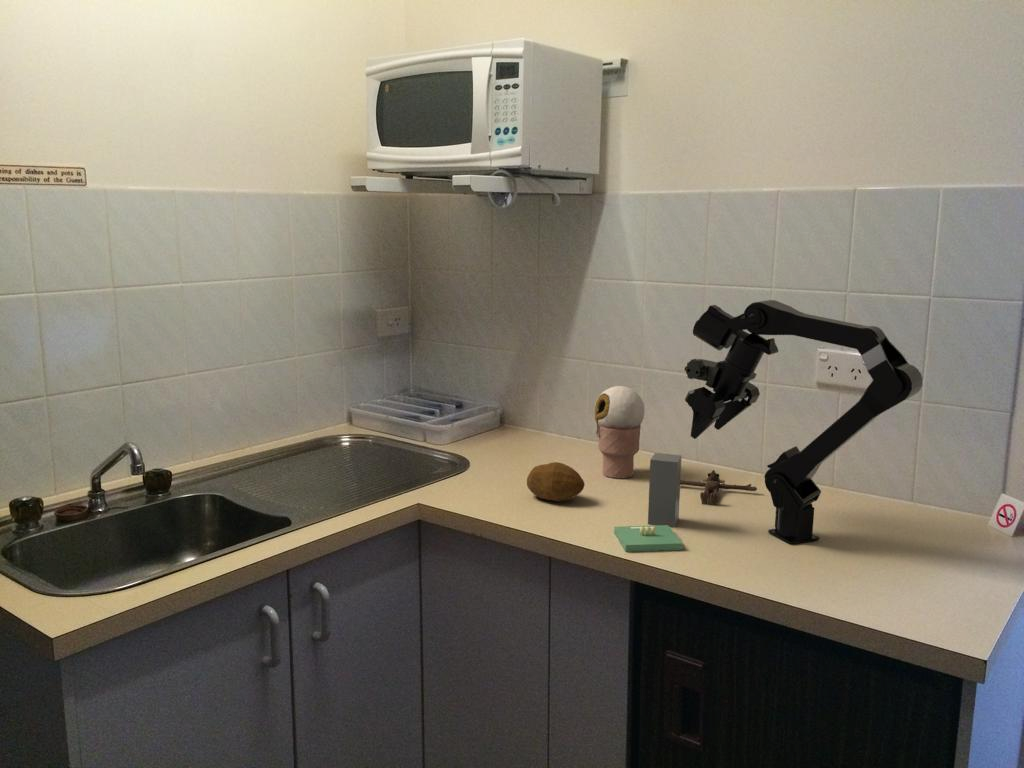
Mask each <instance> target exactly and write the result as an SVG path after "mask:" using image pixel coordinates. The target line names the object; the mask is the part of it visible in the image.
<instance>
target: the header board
mask: <svg viewBox="0 0 1024 768" xmlns="http://www.w3.org/2000/svg"><path fill="white" fill-rule="evenodd" d="M613 534H614V535H615V537H616V538H618V539H617V540H618V542H619V543H620V545H621V547H622V549H623V550H624V552H626V553H628V552H629V553H630V552H658V550H664V551H683V542H682V541H681V539H679V537H678V536H677V534H676V533H675V532H674V531H673V530H672V527H669V526H668V525H634V526H632V525H631V526H629V525H628V526H626V525H625V526H622V525H621V526H614V527H613Z"/></svg>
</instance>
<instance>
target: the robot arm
mask: <svg viewBox="0 0 1024 768" xmlns="http://www.w3.org/2000/svg"><path fill="white" fill-rule="evenodd" d="M745 330H747V332H746V331H745ZM692 335H693V336H695V337H696V338H697V339H698V340H699V339H700V340H701V341H702V342H704V343H706V344H708V345H709V346H711V347H712V348H713V349H716V350H717V351H722V350H723V349H729V350H728V351H727V354H726V356H725V358H724V360H721V361H713V360H709V359H708V360H707V359H703V358H692V359H690V360H689V361H688V362H687V365H686V366H685V367H684V371H685V374H686V378H687V379H690V380H693V379H695V380H698V381H703V382H705V384H704V385H705V386H707V387H708V388H710V389H712V391H713V392H712V391H711V390H710V389H708V388H707V387H705V386H702V387H699V388H694V389H691V390H688V392H687V394H686V396H685V398H684V401H685V402H686V403H687V405H688V406H689V408H691V410H692V420H691V421H692V423H691V429H690V437H691V438H693V439H694V440H695V439H697V438H698V437H700V436H701V435H702V434H703V433H704V432H705V431H706V430H707V429H708V428H709V427H711V426H712V424H714V425H713V427H714V429H716V430H717V431H718V430H721V429H722V428H723V427H725V426H726V425H727V424H729V423H730V422H731V421H733V420H734V419H735V418H736V417H737V416H739V415H740V414H741V413H743V412H744V411H745V410H747V409H748V408H749V407H751V406H752V404H755V403H756V402H757V401H758V398H759V397H760V395H761V393H760V390H759V387H757V386H756V385H754V384H753V383H751V382H750V381H752V380H755V379H756V377H757V373H756V372H755V371H756V369H757V367H758V365H759V363H760V361H761V359H762V357H764V354H766V355H767V356H771V355H774V354H777V353H778V352H779V349H778V346H777V344H776V341H775V340H776V339H775V338H773V337H772V338H769V339H766V338H764V336H796V337H800V338H804V339H809V340H813V341H818V342H823V343H827V344H831V345H837V346H840V347H846V348H850V349H854V350H857V352H858V353H859V355H860V356H861V359H862V361H863V363H864V366H865V368H866V371H867V373H868V374H869V376H870V377H871V379H872V381H871V383H870V384H869V385H868V386H867V388H866V389H865V391H864V392H863V394H862V396H861V397H860V398H859V400H858V401H857V402H856V403H855V404H854V405H853V406H852V407H850V408H849V409H848V410H847V411H846V412H845V413H844V414H842V415H841V416H840V417H839V418H837V419H836V420H835V421H834V422H833V423H831V424H830V426H829V427H827V428H826V429H825V430H824V431H823V432H822V433H820V434H819V435H818V436H817V437H816V438H814V439H813V441H811V442H810V443H809V444H808V445H807V446H805V447H804V448H803V449H802V450H800V449H799V448H798V446H797V445H796V446H793V447H792V448H789V449H787V450H786V451H783V452H781V454H780V455H779V456H778V458H777V459H776V460H775V461H773V462H772V463H769V464H767V465H766V466H767V468H769V469H768V470H767V471H766V472H765V474H764V484H765V487H766V489H767V491H768V492H769V494H770V497H771V501H772V504H773V507H774V508H775V519H774V528H769V529H768V531H767V532H768V533H769V534H770V535H772V536H773V537H776V538H778V539H780V540H782V541H784V542H785V543H788V544H790V545H793V544H795V545H796V544H800V543H807V542H814V541H819V540H820V536H818V535H817V534H814V532H813V530H814V519H815V517H814V516H815V507H814V506H813V503H815V502H817V501H818V500H819V497H820V495H821V493H822V490H821V489H820V487H819V486H818V485H817V483H815V482H814V480H813V479H812V478H813V477H814V476H815V475H816V473H817V472H818V470H819V469H820V467H821V465H822V464H823V463H824V462H825V461H826V460H828V458H830V457H832V455H833V454H835V452H837V451H838V450H839V449H841V448H842V447H843V446H844V445H845V444H846V443H848V442H849V441H850V440H852V438H854V437H855V436H856V435H857V434H858V433H860V432H861V431H862V430H863V429H864V428H865V427H867V426H868V425H869V424H871V422H873V421H874V420H875V419H876V418H877V417H879V416H880V415H881V414H883V413H884V412H886V411H888V410H890V409H892V408H894V407H896V406H897V405H900V404H901V403H903V402H905V401H906V400H908V399H910V398H912V397H914V396H915V395H916V394H918V393H919V392H920V391H921V389H922V387H923V375H922V373H921V371H920V370H919V369H918V368H917V367H916V366H914V365H912V364H911V363H910V362H908V360H907V358H905V355H903V354H902V352H901V351H900V350H899V349H898V348H897V347H896V346H895V345H894V344H893V343H892V342H891V341H890V340H889V338H888V337H887V336H886V334H885V332H884V331H883V330H882V329H881V327H878V326H877V325H870V326H869V325H863V324H859V323H858V324H857V323H853V322H849V321H842V320H839V319H838V320H837V319H834V318H829V317H828V318H827V317H823V316H820V315H819V316H818V315H813V314H809V313H804V312H803V311H800V310H798V309H795V308H794V307H792V306H790V305H788V304H785V303H783V302H780V301H777V300H775V299H767V300H761V301H760V300H759V301H755V302H752V303H751V304H748V306H747V307H746V308H745V310H744V311H743V313H742V314H740V315H739V314H738V315H737V316H733V315H731V314H729V313H728V312H727V311H724V310H723V309H722V308H721V307H719V306H718V305H716V304H712V305H709V306H708V308H707V310H706V311H705V312H704V313H702V314H701V316H700V317H699V318H698V319H697V320H696V321H695V323H694V326H693V328H692ZM909 363H910V364H909Z"/></svg>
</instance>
